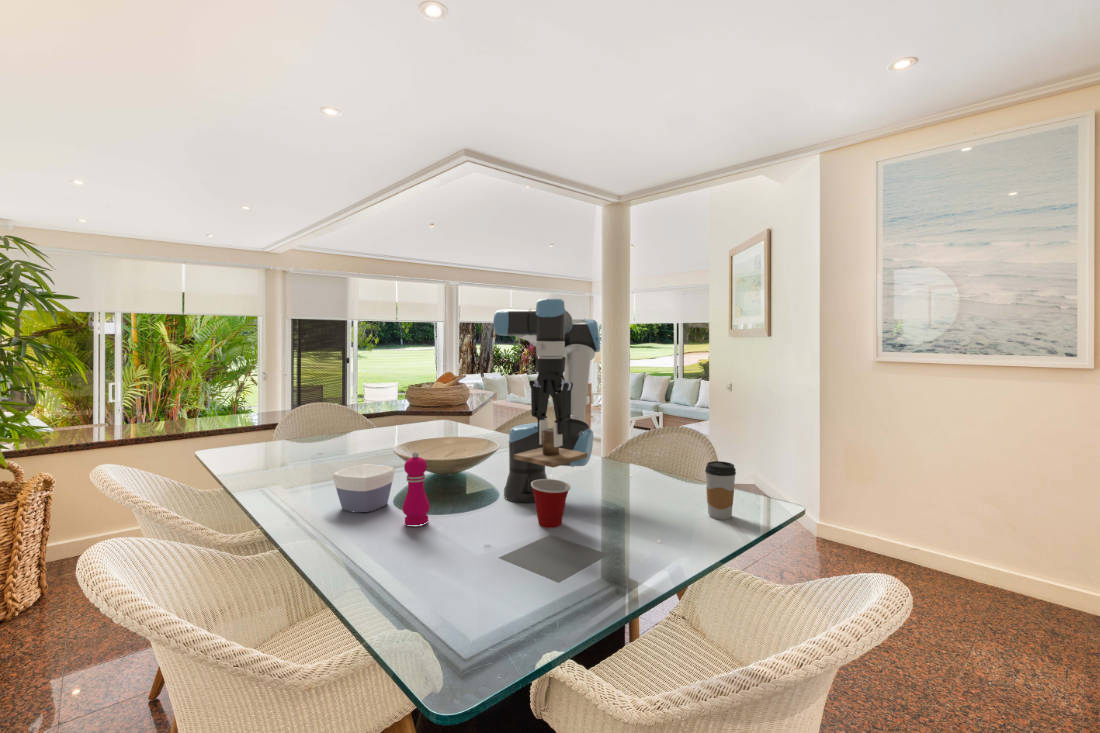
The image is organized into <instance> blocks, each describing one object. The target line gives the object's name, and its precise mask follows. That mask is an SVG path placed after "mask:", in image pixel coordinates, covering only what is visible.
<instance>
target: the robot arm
mask: <svg viewBox="0 0 1100 733" xmlns="http://www.w3.org/2000/svg"><path fill="white" fill-rule="evenodd" d="M535 305H536V307H535V308H534V309H533V308H530V309H525V308H523V309H517V308H516V309H508V308H506V309H498V310H496V311H495V313H494V315H493V329H494V333H496V335H497V336H505V337H507V336H508V337H509V336H511V337H516V338H519V339H522V340H525V341H528V342H529V343H530V345H531V346H534V347H535V348H536V357H538V358H536V360H535V361H536V363H535V364H536V366H535V367H536V369H535V370H536V373H538V374H537V377H536V379H533V380H529V387H530V396H531V397H530V398H531V399H530V400H531V401H530V403H531V407H530V408H531V417H534V418H536V420H537V422H531V423H530V422H529V423H525V424H524V423H523V424H520V425H515V426H514V427H511V428H510V430H509V433H508V434H509V436H508V439H509V440H508V456H509V457H508V459H509V460H508V463H509V464H508V466H509V469H508V470H509V471H508V476H507V480H506V483H505V486H504V487H503V488H504V489H503V496H505V497H504V498H505V499H506V498H507V499H506V500H508V499H509V501H511V500H512V502H515V501H516V503H535V498H534V493H533V489H532V487H531V482H533V481H534V480H539V479H548V477H547V474H546V473H547V472H546V466H544V465H539V464H535V463H530V462H526V461H521V460H516V459H514V454H518V453H522V452H526V451H530V450H534V449H538V448H542V447H543V431H545V430H554V447H559V448H563V449H568V450H574V451H579V452H585V453H588V457H587V458H584V459H581V460H577V461H574V462H571V463H567V464H564V465H561V466H563V467H572V468H575V467H584V466H586V465H587V464H588V463H589V462H590V459H591V455H592V452H593V444H594V432H593V430H592V429H590V425H589V423H588V422H587V421H586V412H587V404H588V390H589V379H590V378H589V377H590V366H591V361H592V360H594V359H595V356H596V353H599V352H600V351H601V343H600V342H601V341H600V332H599V325H598V323H597V321H596V320H595V319H592V318H591V319H587V318H584V319H573V317H572V315H571V314H570V313H569V312H568V310H566V308H565V301H564V300H563V299H561V298H541V299H538V300H537V301H536V304H535ZM563 357H564V358H563ZM550 397H551V399H552V405H553V410H554V417H555V420H553V425H552V426H553V427H552V428H551V427H549V419H548V416H547V412H548V406H549V399H550ZM561 466H560V467H561Z"/></svg>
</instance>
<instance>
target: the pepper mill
mask: <svg viewBox="0 0 1100 733" xmlns="http://www.w3.org/2000/svg"><path fill="white" fill-rule="evenodd" d="M411 456H412V457H410V458H408V459H406V461H405V463H404V466H403V467H404V471H405V473H406V474H407V475H406V477H405V478H406V482H407V484H408V485H407V486H408V487H407V493H406V495H405V499H404V501H403V505H402V512H403V514H404V515H405V517H404V525H405V524H406V525H420V524H424V523H426V522H427V521H428V522H429V515H428V512H429V511H430V508H431V507H430V504H431V503H430V501H429V499H428V495H427V494H426V492H425V485H424V484H425V480H426V474H425V472H426V471H427V468H428V464H427V461H426V460H425V459H424V458H423V457H420V456H419V452H418V451H414V452H412V454H411ZM406 525H405V526H406Z"/></svg>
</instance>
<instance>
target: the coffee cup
mask: <svg viewBox="0 0 1100 733" xmlns="http://www.w3.org/2000/svg"><path fill="white" fill-rule="evenodd" d="M736 471H737V470H736V467H735V465H734V464H733V463H732V462H727V461H716V460H715V461H709V462H707V463H706V466H705V471H704V472H705V478H706V479H705V480H706V481H705V482H706V485H705V486H706V502H707V514H708V516H709V517H710V518H712V519H715V520H721V521H722V520H723V521H725V520H729V519H731V517H732V515H733V505H734V495H735V480H736V474H737V472H736Z"/></svg>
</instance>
